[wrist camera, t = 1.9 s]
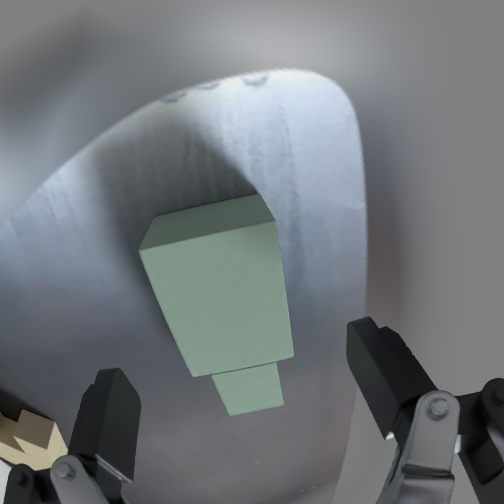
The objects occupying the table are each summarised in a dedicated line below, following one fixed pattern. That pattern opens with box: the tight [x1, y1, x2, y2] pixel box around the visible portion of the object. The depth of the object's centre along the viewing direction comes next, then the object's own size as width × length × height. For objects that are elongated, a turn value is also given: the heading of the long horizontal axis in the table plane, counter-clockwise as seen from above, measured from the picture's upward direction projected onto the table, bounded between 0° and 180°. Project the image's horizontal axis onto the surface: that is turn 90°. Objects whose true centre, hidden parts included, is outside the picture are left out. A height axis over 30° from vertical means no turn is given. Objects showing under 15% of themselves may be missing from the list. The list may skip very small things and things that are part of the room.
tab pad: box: [138, 194, 294, 415], centre depth 14 cm, size 11×5×4 cm, turn 9°
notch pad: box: [0, 409, 68, 471], centre depth 19 cm, size 12×12×4 cm
